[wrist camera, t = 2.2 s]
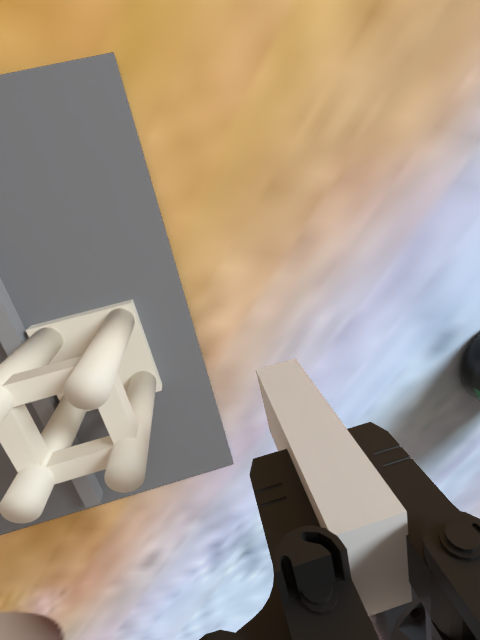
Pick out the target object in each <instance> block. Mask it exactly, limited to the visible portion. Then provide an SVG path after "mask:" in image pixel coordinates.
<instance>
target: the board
mask: <svg viewBox="0 0 480 640" xmlns="http://www.w3.org/2000/svg"><path fill="white" fill-rule="evenodd" d="M132 299H133V302H134V305H135V307H136V310H137V313H138V316H139V319H140V322H141V325H142V327H143V330H144V333H145V336H146V339H147V342H148V345H149V348H150V350H151V353H152V356H153V359H154V362H155V365H156V368H157V370H158V373H159V376H160V379H161V382H162V391H158V392H155V399H154V408H153V416H152V424H151V432H150V440H149V448H148V457H147V465H146V473H145V480H144V482H143V484H142V485H141V486H140V487H139V488H138V489H136V490H134V491H131V492H126V493H121V492H116V491H114V490H112V489H110V488H109V487H108V486H107V485H106V483H105V479H104V476H105V472H106V469H105V470H101V471H98V472H95V473H91V474H88V475H84V476H81V477H78V478H74V479H71V480H68V481H64V482H61V483H58V484H54V487H53V489H52V491H51V493H50V496H49V498H48V500H47V503H46V505H45V507H44V509H43V512H42V514H41V515H40V517H39V518H37V519H36V520H34V521H32V522H29V523H23V524H19V523H13V522H10V521H8V520H6V519H5V518H4V517H3V516H2V515H1V513H0V535H3V534H6V533H9V532H12V531H16V530H19V529H22V528H26V527H29V526H32V525H35V524H39V523H42V522H45V521H49V520H52V519H55V518H58V517H62V516H65V515H68V514H72V513H75V512H78V511H81V510H85V509H88V508H91V507H94V506H98V505H101V504H104V503H108V502H111V501H114V500H117V499H121V498H124V497H127V496H131V495H134V494H137V493H140V492H144V491H147V490H150V489H154V488H157V487H160V486H163V485H167V484H170V483H173V482H177V481H180V480H183V479H186V478H190V477H193V476H196V475H200V474H203V473H206V472H209V471H213V470H216V469H219V468H222V467H226V466H229V465H232V464H233V460H232V456H231V453H230V449H229V446H228V442H227V439H226V436H225V432H224V429H223V425H222V422H221V418H220V415H219V412H218V408H217V405H216V401H215V398H214V394H213V391H212V388H211V384H210V381H209V377H208V374H207V370H206V367H205V364H204V360H203V357H202V353H201V350H200V346H199V343H198V340H197V336H196V333H195V329H194V326H193V322H192V319H191V316H190V312H189V309H188V305H187V302H186V298H185V295H184V292H183V288H182V285H181V281H180V278H179V274H178V271H177V268H176V264H175V261H174V257H173V254H172V250H171V247H170V244H169V240H168V237H167V233H166V230H165V226H164V223H163V220H162V216H161V213H160V209H159V206H158V202H157V199H156V196H155V192H154V189H153V185H152V182H151V178H150V175H149V172H148V168H147V165H146V161H145V158H144V154H143V151H142V148H141V144H140V141H139V137H138V134H137V130H136V127H135V124H134V120H133V117H132V113H131V110H130V106H129V103H128V100H127V96H126V93H125V89H124V86H123V82H122V79H121V76H120V72H119V69H118V65H117V62H116V58H115V55H114V53H113V52H112V53H107V54H102V55H97V56H92V57H87V58H82V59H77V60H72V61H67V62H62V63H57V64H52V65H47V66H42V67H37V68H32V69H27V70H22V71H17V72H12V73H7V74H2V75H0V364H1V363H2V362H3V361H4V360H5V359H6V358H7V357H8V356H10V355H11V354H12V353H13V352H14V351H15V350H16V349H17V348H18V347H19V346H20V345H22V344H23V343H24V342H25V341H26V340H27V339H28V338H29V336H28V334H27V332H26V330H27V329H28V328H29V327H30V326H31V325H35V324H39V323H43V322H47V321H51V320H55V319H58V318H62V317H66V316H70V315H74V314H78V313H82V312H85V311H89V310H93V309H97V308H101V307H105V306H109V305H113V304H116V303H120V302H124V301H128V300H132ZM59 403H60V401H59V399H58V397H57V395H55V396H51V397H47V398H44V399H40V400H37V401H33V402H29V403H26V404H25V406H26V407H27V409H28V411H29V413H30V415H31V417H32V419H33V421H34V423H35V425H36V427H37V428H38V430H39V432H40V434H41V433H42V431H43V430H44V428H45V426H46V424H47V423H48V421H49V419H50V418H51V416H52V414H53V413H54V411H55V409H56V408H57V406H58V404H59ZM106 436H110V435H109V432H108V430H107V428H106V425H105V423H104V421H103V419H102V416H101V414H100V412H99V409H94V410H91V411H87V412H86V414H85V416H84V418H83V421H82V423H81V425H80V427H79V430H78V432H77V434H76V436H75V439H74V441H73V443H72V446H75V445H79V444H82V443H86V442H89V441H93V440H96V439H100V438H103V437H106ZM72 446H71V447H72ZM17 473H18V472H17V470H16V469H15V467H14V465H13V463H12V462H11V460H10V458H9V457H8V455H7V453H6V451H5V450H4V448H3V446H2V445H1V443H0V502H1V500H2V499H3V497H4V495H5V494H6V492H7V490H8V489H9V487H10V485H11V484H12V482H13V480H14V479H15V477H16V475H17Z"/></svg>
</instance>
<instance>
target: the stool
mask: <svg viewBox="0 0 480 640" xmlns="http://www.w3.org/2000/svg"><path fill="white" fill-rule="evenodd" d="M26 332H27V334H28V336H29V338H28V339H27V340H26V341H25V342H24V343H23V344H22V345H20V346H19V347H18V348H17V349H16V350H15V351H14V352H13V353H12V354H11V355H10V356H8V357H7V358H6V359H5V360H4V361H3V362H2V363H1V364H0V443H1V445H2V446H3V448H4V450H5V451H6V453H7V455H8V457H9V458H10V460H11V462H12V463H13V465H14V467H15V469H16V470H17V472H18V473H17V475H16V477H15V479H14V480H13V482H12V484H11V485H10V487H9V489H8V490H7V492H6V494H5V495H4V497H3V499H2V500H1V502H0V513H1V515H2V516H3V517H4V518H5V519H6V520H8V521H10V522H13V523H19V524H23V523H29V522H32V521H34V520H36V519H37V518H39V517H40V515H41V514H42V512H43V509H44V507H45V505H46V503H47V500H48V498H49V496H50V493H51V491H52V489H53V487H54V484H58V483H61V482H64V481H68V480H71V479H74V478H78V477H81V476H84V475H88V474H91V473H95V472H98V471H101V470H105V469H106V472H105V476H104V479H105V483H106V485H107V486H108V487H109V488H110V489H112V490H114V491H116V492H121V493H126V492H131V491H134V490H136V489H138V488H139V487H140V486H141V485H142V484H143V482H144V480H145V473H146V465H147V457H148V448H149V440H150V432H151V424H152V416H153V408H154V399H155V392H158V391H162V382H161V379H160V376H159V373H158V370H157V368H156V365H155V362H154V359H153V356H152V353H151V350H150V348H149V345H148V342H147V339H146V336H145V333H144V330H143V327H142V325H141V322H140V319H139V316H138V313H137V310H136V307H135V305H134V302H133V299H132V300H128V301H124V302H120V303H116V304H113V305H109V306H105V307H101V308H97V309H93V310H89V311H85V312H82V313H78V314H74V315H70V316H66V317H62V318H58V319H55V320H51V321H47V322H43V323H39V324H35V325H31V326H30V327H29V328H28V329H27V330H26ZM55 395H57V397H58V399H59V401H60V403H59V404H58V406H57V408H56V409H55V411H54V413H53V414H52V416H51V418H50V419H49V421H48V423H47V424H46V426H45V428H44V430H43V431H42V433H41V434H40V432H39V430H38V428H37V427H36V425H35V423H34V421H33V419H32V417H31V415H30V413H29V411H28V409H27V407H26V406H25V404H26V403H29V402H33V401H37V400H40V399H44V398H47V397H51V396H55ZM94 409H99V412H100V414H101V416H102V419H103V421H104V423H105V425H106V428H107V430H108V432H109V435H110V436H106V437H103V438H100V439H96V440H93V441H89V442H86V443H82V444H79V445H75V446H72V443H73V441H74V439H75V436H76V434H77V432H78V430H79V427H80V425H81V423H82V421H83V418H84V416H85V414H86V412H87V411H91V410H94ZM71 446H72V447H71Z"/></svg>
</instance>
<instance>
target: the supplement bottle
mask: <svg viewBox="0 0 480 640" xmlns="http://www.w3.org/2000/svg"><path fill="white" fill-rule="evenodd" d="M460 372H461V379H462V382H463V385H464V387H465V388H466V389H467V391H468V392H469V393H470V394H471V395H473V396H474V397H475V398H477V399H478V400H480V333H479V334H478V335H477V336H476V337H475V338H474V339H473V340H472V342H471V343H470V344H469V346H468V347H467V349H466V351H465V353H464V355H463V358H462V362H461V369H460Z"/></svg>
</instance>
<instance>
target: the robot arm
mask: <svg viewBox="0 0 480 640" xmlns="http://www.w3.org/2000/svg"><path fill="white" fill-rule="evenodd" d="M256 372H257V377H258V381H259V385H260V390H261V394H262V398H263V402H264V407H265V411H266V415H267V420H268V424H269V428H270V432H271V434H272V437H273V439H274V442H275V444H276V447H277V449H278V452H274V453H271V454H268V455H264V456H261V457H258V458H255V459H253V462H252V466H251V471H250V478H251V482H252V486H253V490H254V494H255V498H256V502H257V505H258V509H259V513H260V517H261V521H262V525H263V529H264V532H265V536H266V540H267V544H268V548H269V552H270V556H271V559H272V563H273V570H274V582H273V588H272V591H271V594H270V597H269V599H268V600H267V602H266V604H265V606H264V607H263V609H262V610H261V611H260V612H259V613H258V614H257V615H256V616H255V617H254V618H253V619H251V620H250V621H249V622H248V623H247V624H245V625H244V626H243V627H242V628H241V629H239V630H238V631H237V632H236V633H234V632H229V631H224V630H218V631H215V632H212V633H208V634H206V635H204V636H203V637H202V638H201V639H199V640H379V638H378V636H377V633H376V631H375V629H374V627H373V625H372V623H371V620H370V618H369V616H372V615H375V614H377V626H378V629H379V631H380V633H381V636H382V638H383V640H480V519H479V518H477V517H474V516H472V515H470V514H468V513H466V512H461V511H459V510H458V509H457V508H456V507H455V506H454V505H453V504H452V503H451V502H450V501H449V500H448V499H447V498H446V496H445V495H444V494H443V493H442V492H441V491H440V490H439V489H438V487H437V486H436V485H435V484H434V483H433V482H432V481H431V480H430V479H429V477H428V476H427V475H426V474H425V473H424V472H423V471H422V470H421V468H420V467H419V466H418V465H417V464H416V463H415V462H414V461H413V459H410V457H409V455H408V454H407V453H406V452H405V451H404V449H403V448H402V447H400V446H399V444H398V443H397V442H396V440H395V439H394V438H393V437H392V436H391V435H390V434H389V433H388V431H386V430H384V429H382V428H381V427H379V426H377V425H375V424H373V423H371V422H369V423H365V424H362V425H359V426H356V427H352V428H349V429H346V427H345V426H344V424H343V423H342V422H341V420H340V419H339V418H338V416H337V415H336V413H335V412H334V411H333V409H332V408H331V407H330V405H329V404H328V402H327V401H326V400H325V398H324V397H323V396H322V394H321V393H320V391H319V390H318V389H317V387H316V386H315V385H314V383H313V382H312V380H311V379H310V378H309V376H308V375H307V374H306V372H305V371H304V369H303V368H302V367H301V365H300V364H299V363H298V361H297V360H296V359H292V360H289V361H285V362H282V363H278V364H275V365H271V366H268V367H264V368H261V369H257V370H256Z"/></svg>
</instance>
